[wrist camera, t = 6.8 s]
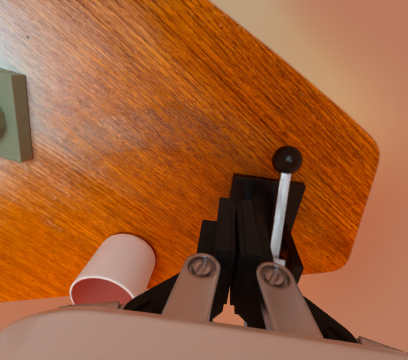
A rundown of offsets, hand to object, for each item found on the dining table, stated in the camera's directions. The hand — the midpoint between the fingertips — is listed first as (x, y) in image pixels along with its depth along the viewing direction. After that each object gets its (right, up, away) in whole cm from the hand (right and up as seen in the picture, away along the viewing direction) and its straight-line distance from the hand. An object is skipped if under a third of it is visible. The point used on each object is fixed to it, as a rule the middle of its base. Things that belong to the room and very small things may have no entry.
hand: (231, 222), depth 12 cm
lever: (+7, -1, +15) cm, 17 cm away
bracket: (+7, -3, +23) cm, 25 cm away
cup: (-15, -11, +30) cm, 35 cm away
